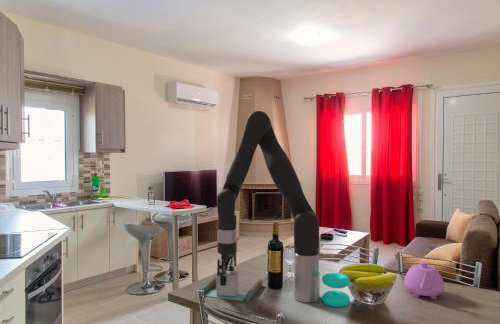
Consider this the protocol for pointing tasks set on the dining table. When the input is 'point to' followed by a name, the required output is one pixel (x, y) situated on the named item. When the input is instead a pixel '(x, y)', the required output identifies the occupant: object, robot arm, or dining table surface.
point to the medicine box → (228, 284)
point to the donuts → (333, 296)
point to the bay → (248, 295)
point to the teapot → (424, 281)
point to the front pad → (239, 296)
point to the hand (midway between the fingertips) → (227, 281)
